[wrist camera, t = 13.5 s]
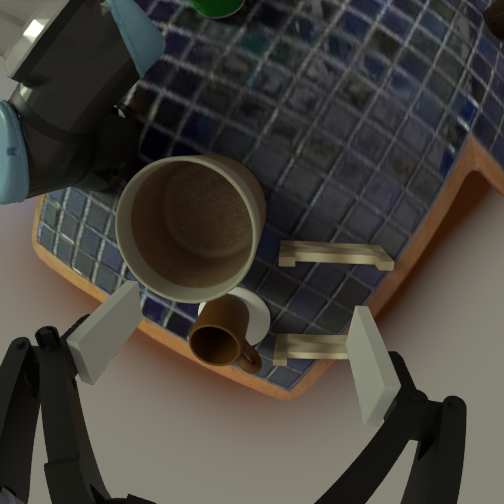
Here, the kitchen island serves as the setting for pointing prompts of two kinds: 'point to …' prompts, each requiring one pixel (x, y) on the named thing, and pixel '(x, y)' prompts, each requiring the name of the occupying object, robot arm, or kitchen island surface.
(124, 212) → the planter
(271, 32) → the kitchen island surface
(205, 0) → the soda can
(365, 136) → the kitchen island surface
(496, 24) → the coffee mug
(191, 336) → the mug
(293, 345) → the rack
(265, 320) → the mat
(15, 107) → the robot arm
